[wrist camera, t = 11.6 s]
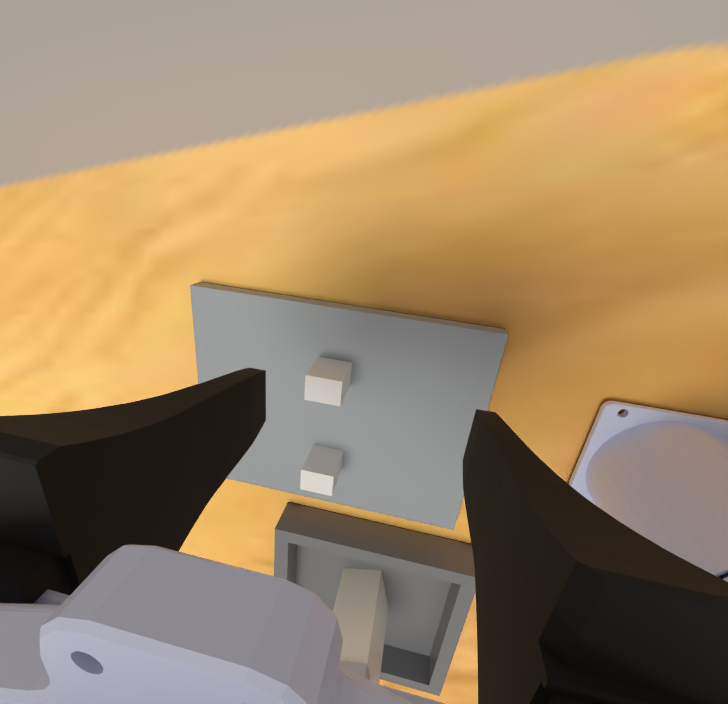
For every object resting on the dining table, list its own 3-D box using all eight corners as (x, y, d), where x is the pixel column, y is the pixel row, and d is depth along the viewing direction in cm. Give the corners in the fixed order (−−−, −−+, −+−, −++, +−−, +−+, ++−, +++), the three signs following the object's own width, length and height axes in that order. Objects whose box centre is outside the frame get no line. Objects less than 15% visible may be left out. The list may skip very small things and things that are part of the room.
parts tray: (475, 545, 26) (479, 578, 23) (439, 660, 31) (439, 695, 29) (288, 502, 27) (274, 528, 25) (284, 617, 33) (273, 648, 30)
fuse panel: (505, 329, 20) (518, 352, 16) (453, 518, 25) (455, 563, 22) (200, 282, 22) (160, 294, 19) (213, 464, 27) (184, 499, 24)
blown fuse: (381, 569, 28) (364, 679, 21) (388, 606, 29) (375, 719, 22) (343, 567, 28) (316, 673, 22) (352, 603, 30) (329, 712, 23)
